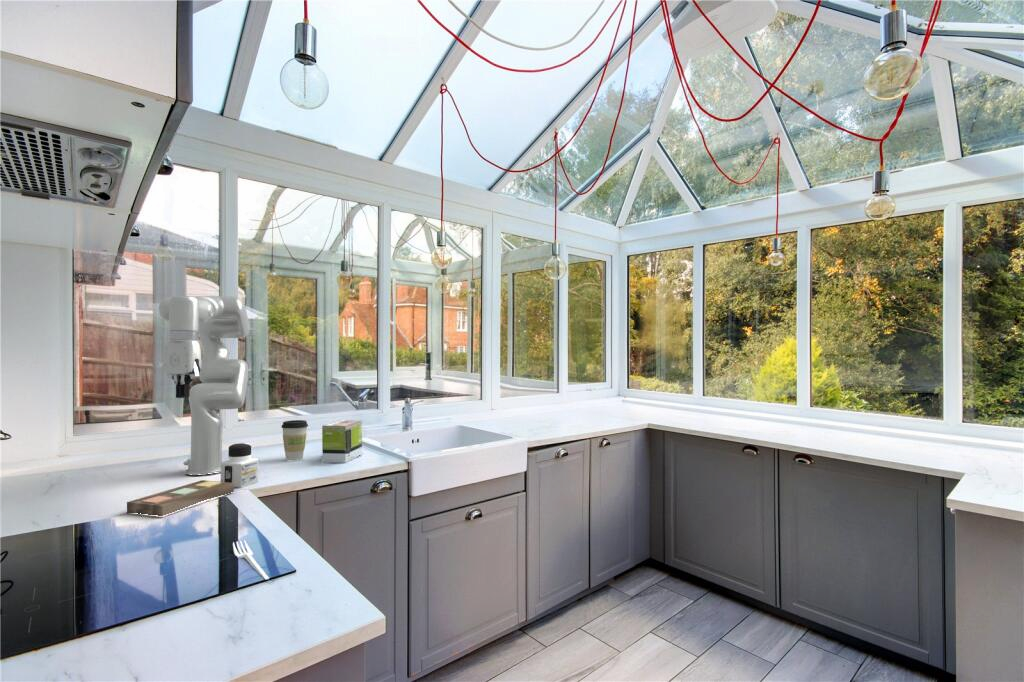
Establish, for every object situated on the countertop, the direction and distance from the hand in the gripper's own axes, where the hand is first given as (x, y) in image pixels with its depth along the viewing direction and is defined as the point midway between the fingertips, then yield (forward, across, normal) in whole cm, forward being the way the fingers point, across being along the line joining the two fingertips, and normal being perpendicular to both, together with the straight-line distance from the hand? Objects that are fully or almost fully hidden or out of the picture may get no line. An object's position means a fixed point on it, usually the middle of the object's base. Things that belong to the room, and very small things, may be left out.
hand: (182, 397), depth 147 cm
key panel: (+29, +8, -6) cm, 31 cm away
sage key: (+29, +8, -6) cm, 30 cm away
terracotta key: (+29, +8, -14) cm, 33 cm away
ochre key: (+29, +8, +2) cm, 30 cm away
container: (+29, +8, +14) cm, 33 cm away
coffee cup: (+29, 0, +50) cm, 58 cm away
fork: (+30, +57, -34) cm, 72 cm away
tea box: (+29, +18, +56) cm, 66 cm away
